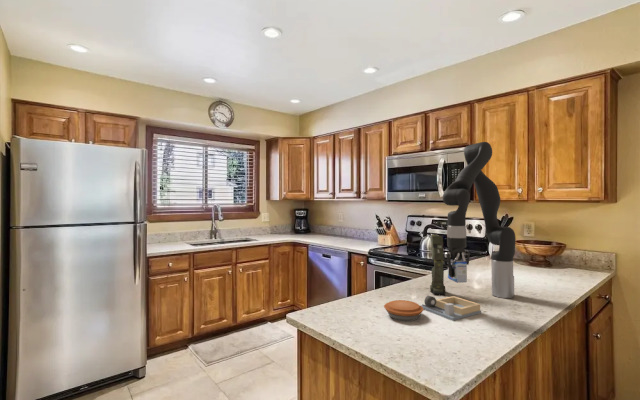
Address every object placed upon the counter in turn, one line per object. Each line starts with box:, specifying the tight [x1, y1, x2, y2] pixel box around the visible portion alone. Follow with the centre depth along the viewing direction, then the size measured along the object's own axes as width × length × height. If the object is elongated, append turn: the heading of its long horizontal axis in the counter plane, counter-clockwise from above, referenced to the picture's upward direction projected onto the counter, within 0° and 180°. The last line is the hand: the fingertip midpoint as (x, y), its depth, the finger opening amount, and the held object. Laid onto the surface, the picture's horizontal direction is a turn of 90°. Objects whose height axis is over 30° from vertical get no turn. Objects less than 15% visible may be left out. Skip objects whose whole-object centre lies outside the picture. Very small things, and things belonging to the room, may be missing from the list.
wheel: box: [423, 295, 437, 307], centre depth 140 cm, size 4×3×4 cm, turn 118°
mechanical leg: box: [429, 234, 446, 297], centre depth 166 cm, size 14×7×30 cm, turn 168°
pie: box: [383, 299, 425, 322], centre depth 133 cm, size 15×16×5 cm
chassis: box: [420, 295, 482, 322], centre depth 138 cm, size 17×17×5 cm
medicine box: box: [447, 260, 468, 284], centre depth 138 cm, size 8×4×9 cm, turn 6°
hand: (457, 275), depth 138 cm, fingers closed on medicine box, 5 cm apart
